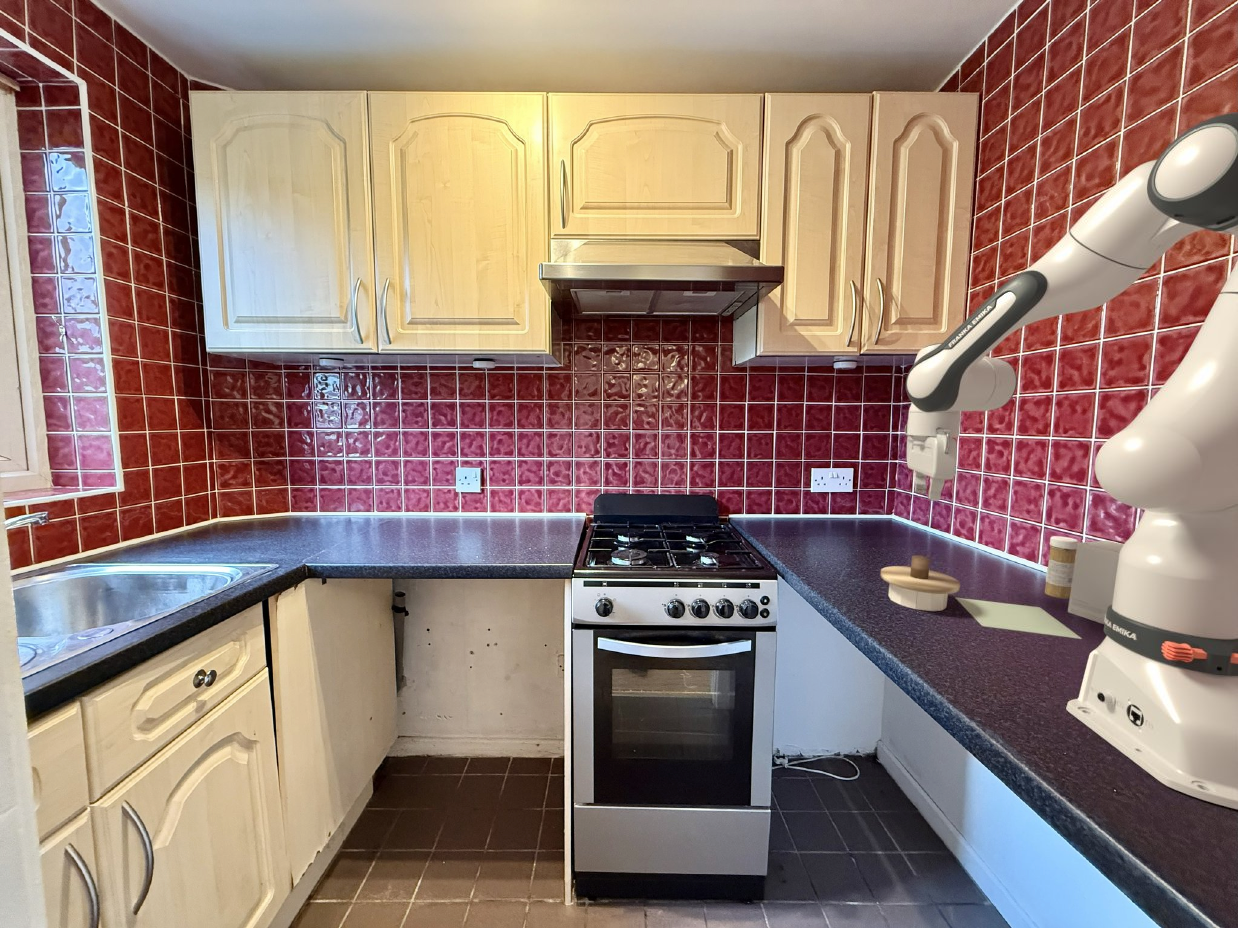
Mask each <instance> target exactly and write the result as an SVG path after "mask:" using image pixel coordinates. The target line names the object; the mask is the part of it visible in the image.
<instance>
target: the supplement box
mask: <svg viewBox="0 0 1238 928" xmlns="http://www.w3.org/2000/svg"><path fill="white" fill-rule="evenodd" d="M1124 544H1125V543H1124ZM1124 544H1123V543H1120V542H1119V543H1118V542H1115V541H1110V540H1099V541H1098V540H1097V541H1088V542H1087V541H1085V542H1078V543H1077V550H1076V555H1075V564H1074V571H1073V578H1072V585H1071V592H1070V598H1069V600H1068V607H1067V613H1070V614H1072V615H1075V616H1077V617H1082V618H1084V619H1086V620H1087V619H1088V620H1091V621H1094V622H1095V623H1096V622H1097V623H1099V624H1102V625H1104V624H1105V622H1104V617H1105V614H1106V613H1107V608H1108V606H1110V605H1112V603H1113V595H1114V588H1115V581H1116V574H1117V567H1118V560H1119V553H1120V551H1121V548H1122V547H1123V545H1124Z"/></svg>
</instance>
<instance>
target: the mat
mask: <svg viewBox="0 0 1238 928" xmlns="http://www.w3.org/2000/svg"><path fill="white" fill-rule="evenodd" d="M955 600H957V601H958V603H960V605H961V606H962V607H963V608H964V609H966V611H967V612H968V613H969V614H970V615H971V617H972V618H974V619H975V620H976V621H977V623H979V624H980V625H981V626H982V627H985V628H993V629H994V628H995V629H1001V630H1010V631H1016V632H1023V633H1025V632H1026V633H1031V634H1033V633H1034V634H1040V635H1047V636H1055V637H1065V638H1070V639H1071V638H1072V639H1078V640H1082V639H1083V638H1082V637H1081V636H1079V635H1078V634H1076V633H1075V632H1074V631H1073V630H1071V629H1070V628H1069V627H1067V626H1066V625H1065V624H1063V623H1061V622H1060V621H1059V620H1058V619H1056V618H1055V617H1053V616H1052V615H1051V614H1049V613H1048V612H1047V611H1045V610H1044V609H1043V608H1041V607H1038V606H1032V605H1031V606H1030V605H1021V604H1015V603H1006V602H1005V603H1004V602H998V601H997V602H996V601H990V600H988V601H987V600H980V599H971V598H963V597H955Z"/></svg>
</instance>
